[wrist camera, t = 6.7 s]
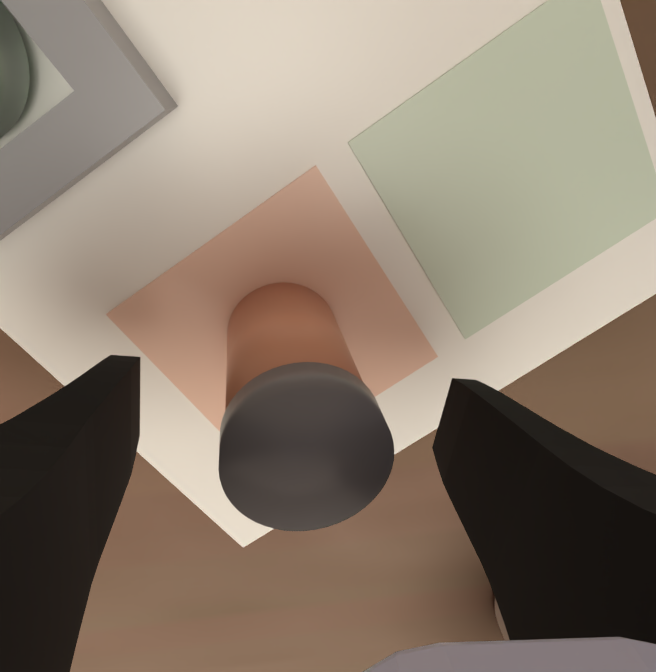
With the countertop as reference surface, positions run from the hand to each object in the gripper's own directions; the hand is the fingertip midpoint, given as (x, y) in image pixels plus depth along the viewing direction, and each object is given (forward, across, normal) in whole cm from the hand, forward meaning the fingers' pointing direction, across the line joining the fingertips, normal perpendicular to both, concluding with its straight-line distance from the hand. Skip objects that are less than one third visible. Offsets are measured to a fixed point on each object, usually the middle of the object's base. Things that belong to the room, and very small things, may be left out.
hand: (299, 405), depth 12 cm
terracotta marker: (+4, 0, 0) cm, 4 cm away
